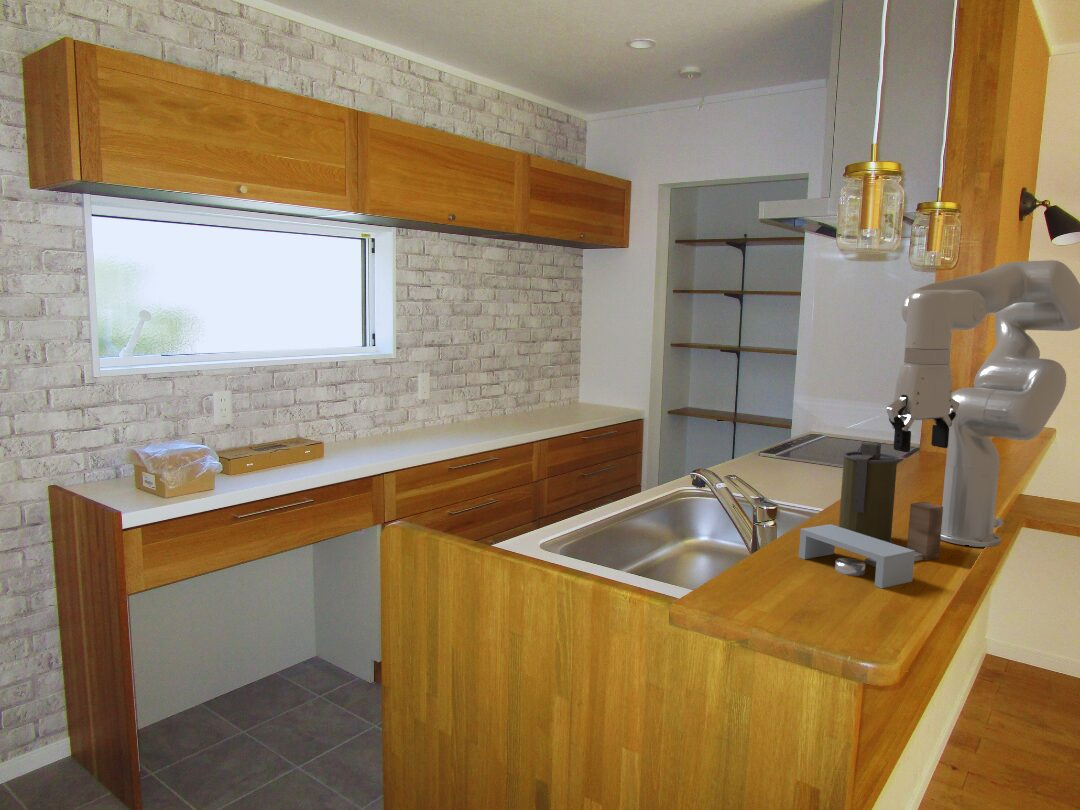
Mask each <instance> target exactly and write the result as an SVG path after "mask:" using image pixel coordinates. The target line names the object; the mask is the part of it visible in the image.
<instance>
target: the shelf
mask: <svg viewBox="0 0 1080 810" xmlns="http://www.w3.org/2000/svg"><path fill="white" fill-rule="evenodd" d="M835 547H837V548H840V549H844V550H846V551H848V552H852V553H855V554H857V555H861V556H864V557H866V558H872V559H875V560H877V561H876V567H875V573H874V574H875V577H874V587H877V588H879V589H886V588H890V587H894V586H898V585H902V584H907V583H912V582H913V581H914V580H913V579H914V577H913V576H914V566H915V561H914V556H915V551H914V550H911V549H908V548H907V547H904V546H901V545H897V544H894V543H892V542H891V543H889V542H886V541H882V540H879V539H876V538H873V537H870V536H867V535H863V534H860V533H857V532H854V531H851V530H847V529H844V528H841V527H839V525H835V524H831V523H830V524H829V523H828V524H824V525H816V526H810V527H803V528H800V533H799V547H798V548H799V549H798V558H800V559H803V560H808V559H813V558H818V557H819V558H821V557H823V556H829V555H834V554H835Z"/></svg>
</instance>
